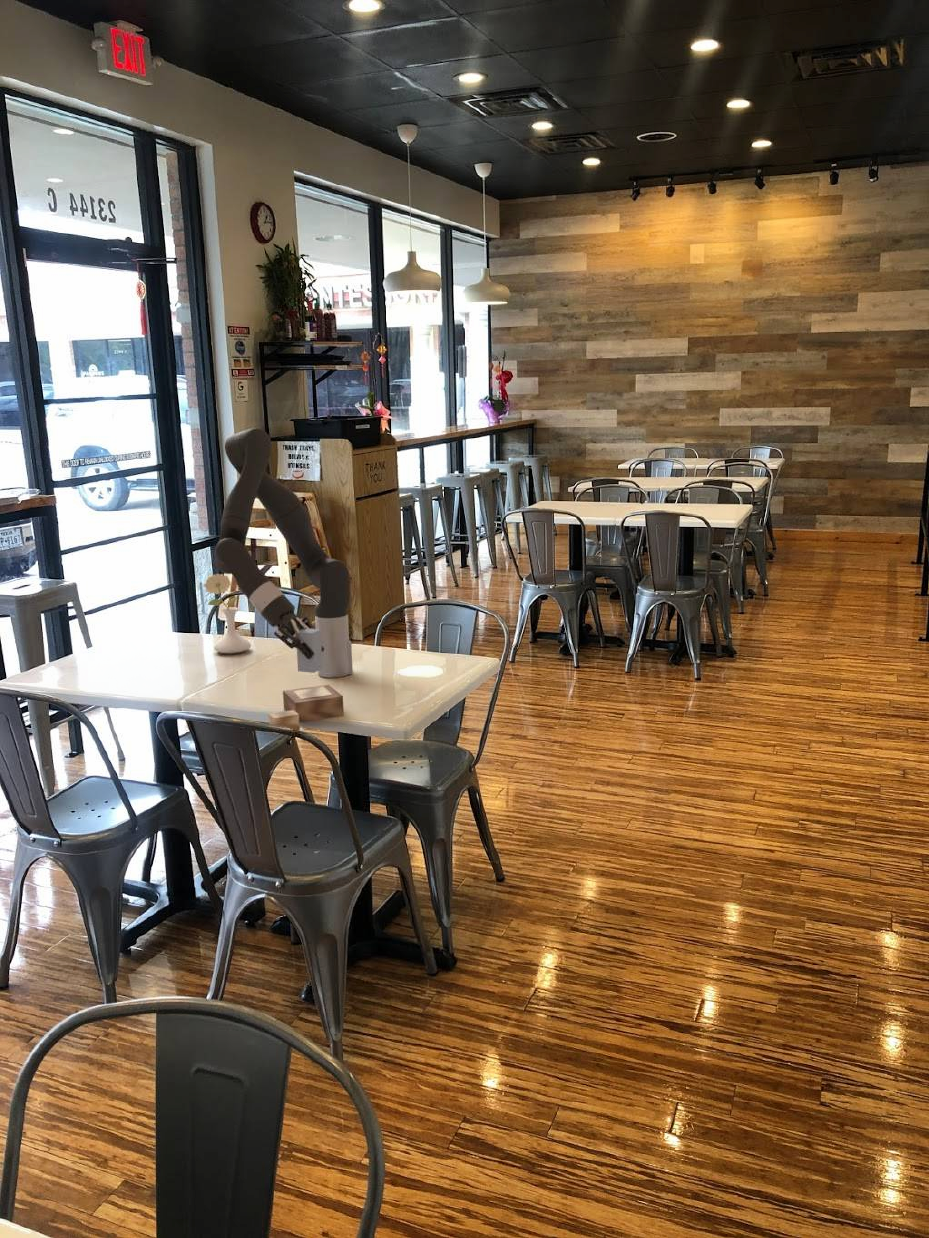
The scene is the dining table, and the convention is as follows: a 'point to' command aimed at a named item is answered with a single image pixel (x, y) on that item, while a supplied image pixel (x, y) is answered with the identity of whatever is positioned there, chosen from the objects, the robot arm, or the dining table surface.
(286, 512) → the robot arm
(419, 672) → the dining table surface
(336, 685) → the dining table surface
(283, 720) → the oak block
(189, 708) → the dining table surface
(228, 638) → the flower in vase
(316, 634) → the pillar
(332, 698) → the plinth
